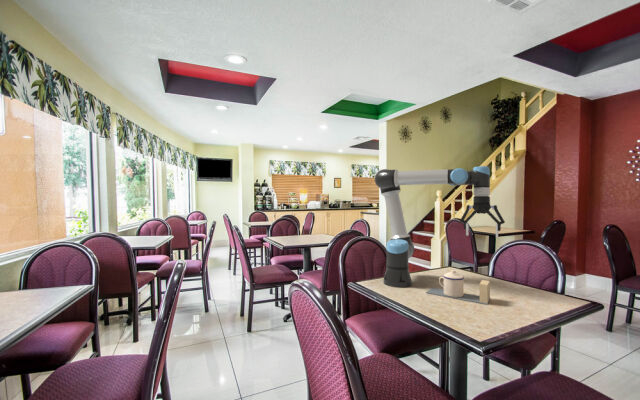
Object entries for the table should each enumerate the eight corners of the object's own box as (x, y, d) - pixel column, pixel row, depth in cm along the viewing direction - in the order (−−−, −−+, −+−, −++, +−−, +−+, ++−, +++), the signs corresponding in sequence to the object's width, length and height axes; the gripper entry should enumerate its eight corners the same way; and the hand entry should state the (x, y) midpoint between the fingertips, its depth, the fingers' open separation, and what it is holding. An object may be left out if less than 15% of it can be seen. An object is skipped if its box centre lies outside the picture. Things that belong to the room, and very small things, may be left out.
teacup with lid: (468, 295, 134) (467, 270, 134) (457, 299, 129) (457, 273, 129) (444, 289, 144) (444, 266, 144) (433, 292, 139) (433, 268, 139)
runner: (426, 293, 138) (425, 276, 138) (432, 288, 146) (431, 272, 146) (487, 304, 122) (486, 285, 123) (490, 298, 130) (490, 280, 130)
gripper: (454, 196, 153) (454, 235, 152) (509, 195, 137) (509, 238, 137) (457, 196, 159) (457, 234, 158) (510, 195, 143) (510, 237, 143)
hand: (481, 236), depth 148 cm, fingers open, 13 cm apart
